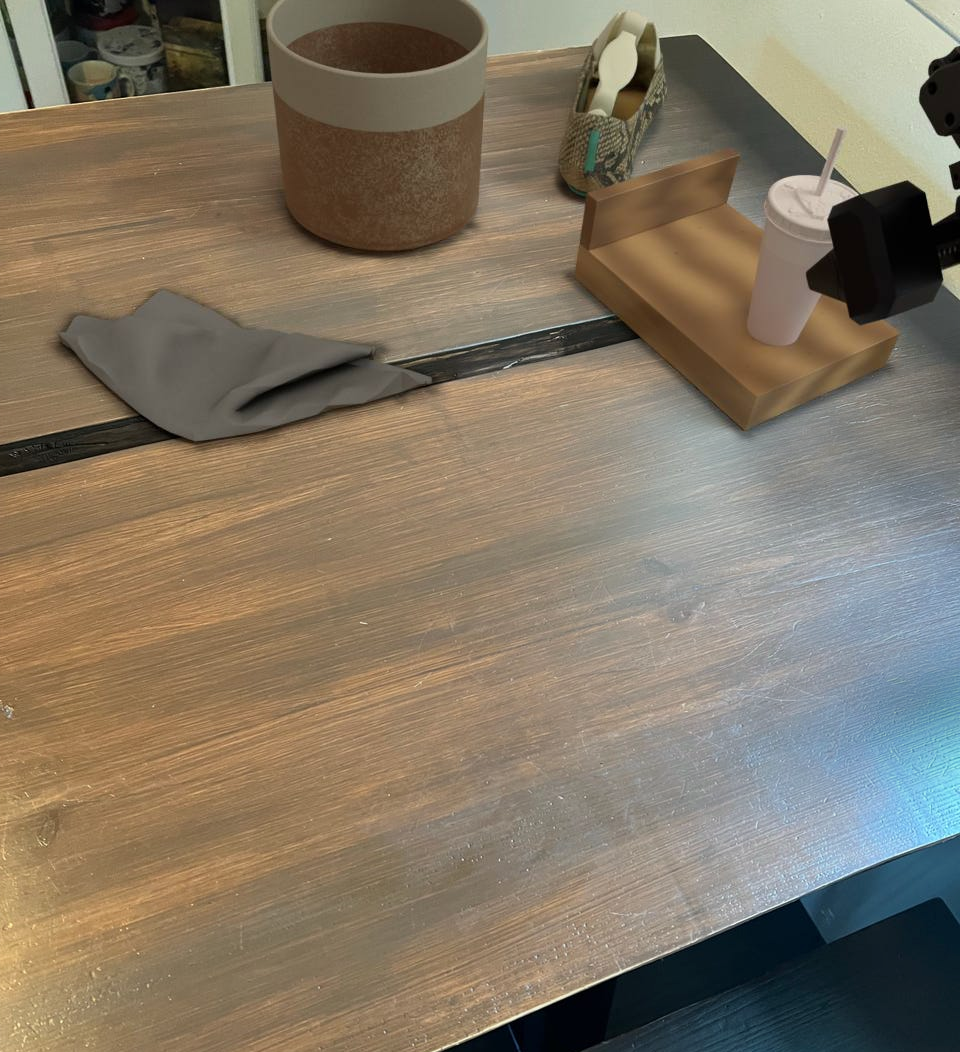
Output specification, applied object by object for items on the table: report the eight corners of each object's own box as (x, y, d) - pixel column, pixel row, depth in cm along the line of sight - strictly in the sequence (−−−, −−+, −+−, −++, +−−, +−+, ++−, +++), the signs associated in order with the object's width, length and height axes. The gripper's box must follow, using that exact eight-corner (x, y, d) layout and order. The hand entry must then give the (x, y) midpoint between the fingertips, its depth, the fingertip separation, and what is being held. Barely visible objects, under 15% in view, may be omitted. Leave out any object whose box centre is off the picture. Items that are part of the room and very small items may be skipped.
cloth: (7, 387, 67) (-4, 360, 65) (118, 275, 74) (110, 248, 73) (365, 497, 63) (364, 471, 61) (442, 367, 71) (443, 340, 69)
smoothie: (818, 310, 72) (894, 115, 61) (817, 366, 68) (899, 169, 57) (730, 295, 72) (789, 98, 61) (724, 349, 69) (787, 150, 57)
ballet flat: (672, 82, 98) (694, -24, 90) (636, 215, 83) (658, 102, 76) (589, 67, 98) (604, -39, 91) (539, 197, 84) (552, 83, 77)
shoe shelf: (708, 229, 83) (730, 146, 77) (884, 366, 73) (924, 283, 68) (573, 277, 78) (586, 192, 72) (744, 430, 68) (774, 347, 63)
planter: (247, 189, 82) (222, 6, 71) (399, 133, 89) (397, -42, 78) (362, 283, 76) (354, 98, 65) (517, 215, 82) (533, 37, 71)
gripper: (1209, -37, 48) (945, 95, 63) (934, 28, 42) (712, 158, 56) (1241, 198, 51) (981, 273, 65) (986, 292, 45) (760, 352, 59)
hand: (865, 261), depth 61 cm, fingers open, 9 cm apart
